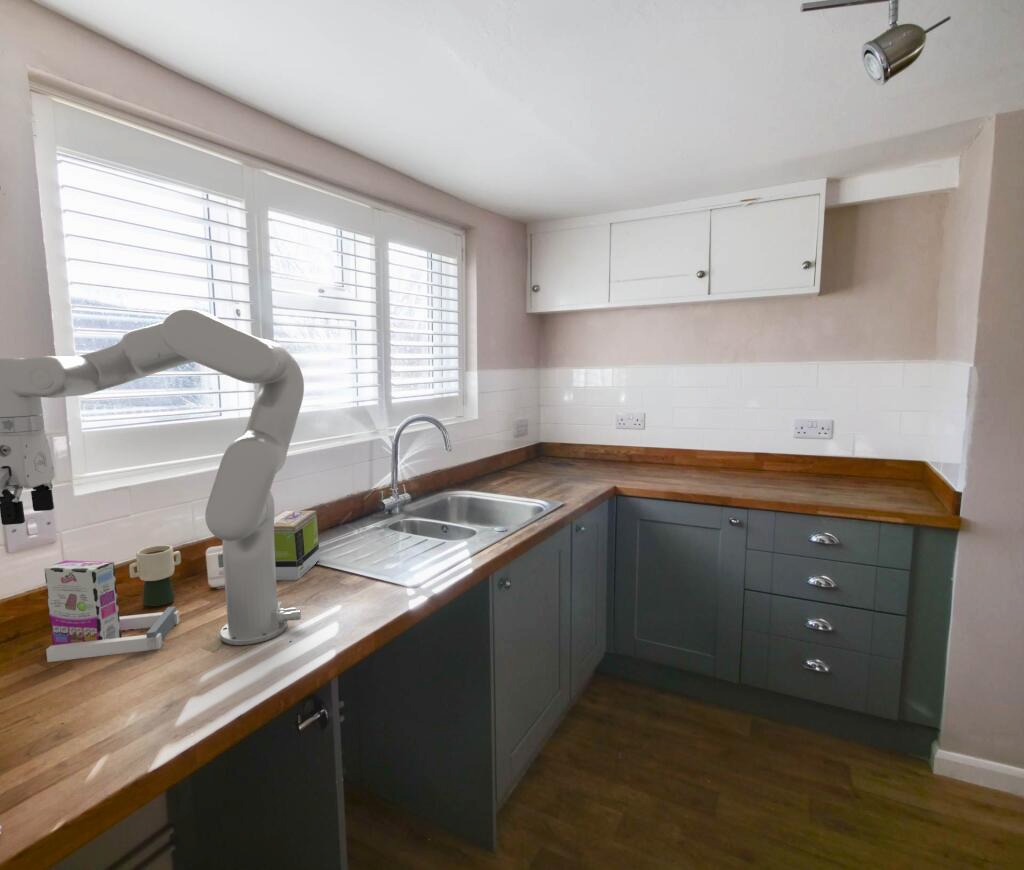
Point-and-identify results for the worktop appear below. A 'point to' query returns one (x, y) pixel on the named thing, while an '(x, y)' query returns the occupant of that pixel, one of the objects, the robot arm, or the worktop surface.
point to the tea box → (295, 543)
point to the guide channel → (152, 640)
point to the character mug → (156, 573)
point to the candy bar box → (82, 601)
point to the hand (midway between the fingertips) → (29, 516)
